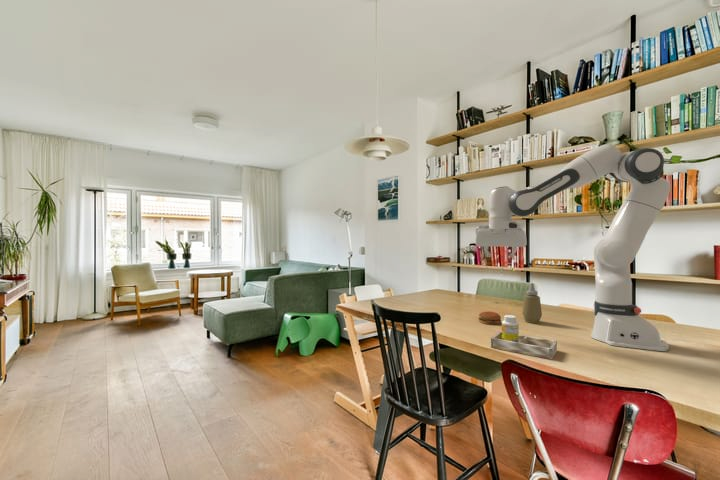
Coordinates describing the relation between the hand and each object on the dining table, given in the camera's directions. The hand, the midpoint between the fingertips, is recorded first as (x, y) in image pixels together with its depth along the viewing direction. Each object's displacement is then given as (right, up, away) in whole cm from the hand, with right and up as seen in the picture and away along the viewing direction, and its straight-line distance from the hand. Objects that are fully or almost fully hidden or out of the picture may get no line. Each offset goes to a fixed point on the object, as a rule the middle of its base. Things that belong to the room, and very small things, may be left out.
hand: (500, 257), depth 138 cm
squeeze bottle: (+20, -31, +12) cm, 39 cm away
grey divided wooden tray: (-2, -31, -23) cm, 39 cm away
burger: (0, -31, +12) cm, 34 cm away
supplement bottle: (-5, -31, -21) cm, 37 cm away
